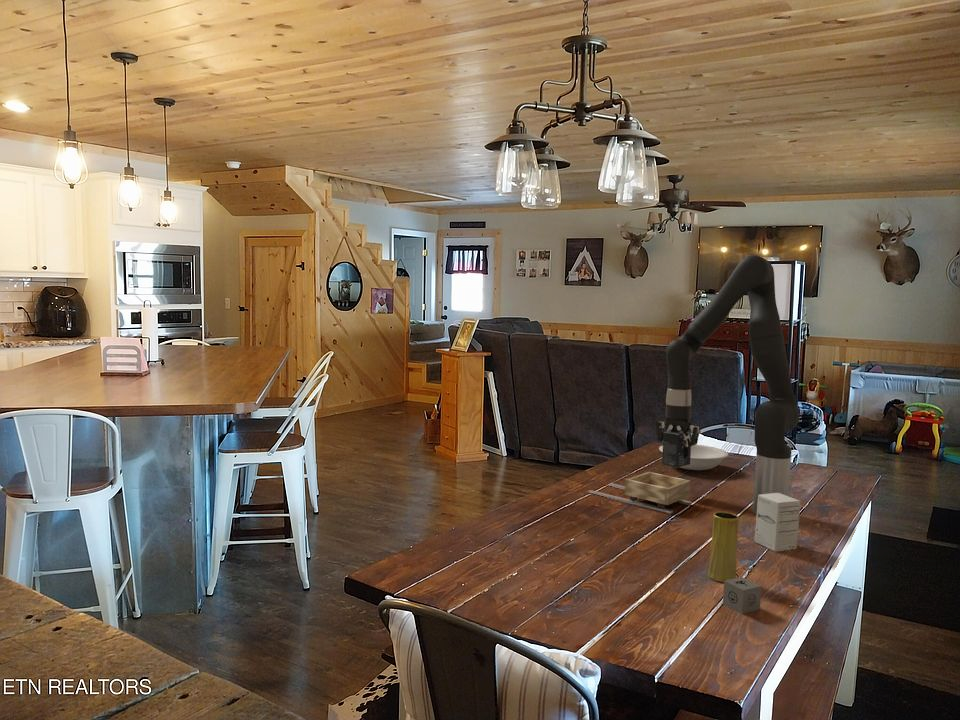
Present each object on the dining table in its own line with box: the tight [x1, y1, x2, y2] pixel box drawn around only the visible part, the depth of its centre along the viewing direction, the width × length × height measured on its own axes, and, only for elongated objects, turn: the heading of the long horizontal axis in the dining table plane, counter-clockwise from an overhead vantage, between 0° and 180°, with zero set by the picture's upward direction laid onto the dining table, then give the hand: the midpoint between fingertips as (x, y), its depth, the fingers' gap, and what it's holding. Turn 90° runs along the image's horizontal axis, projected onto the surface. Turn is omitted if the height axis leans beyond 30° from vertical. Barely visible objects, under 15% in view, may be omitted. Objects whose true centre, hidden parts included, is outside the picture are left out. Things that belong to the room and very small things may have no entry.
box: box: [661, 430, 692, 469], centre depth 225 cm, size 8×6×11 cm
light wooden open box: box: [624, 471, 692, 508], centre depth 216 cm, size 14×14×6 cm
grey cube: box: [722, 576, 762, 615], centre depth 146 cm, size 5×5×5 cm
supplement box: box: [754, 493, 802, 552], centre depth 182 cm, size 7×7×13 cm
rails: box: [587, 482, 693, 515], centre depth 221 cm, size 28×14×1 cm, turn 48°
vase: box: [707, 511, 739, 583], centre depth 160 cm, size 6×6×14 cm
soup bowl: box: [658, 444, 729, 471], centre depth 261 cm, size 24×24×7 cm
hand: (676, 456), depth 225 cm, fingers closed on box, 5 cm apart
